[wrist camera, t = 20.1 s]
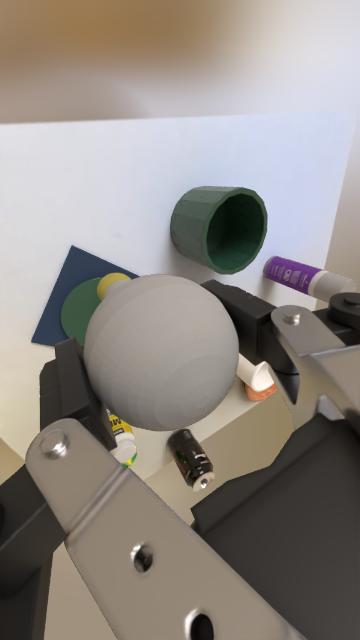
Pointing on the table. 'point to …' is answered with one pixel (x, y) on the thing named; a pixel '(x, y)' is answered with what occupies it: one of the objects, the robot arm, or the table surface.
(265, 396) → the saucer
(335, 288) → the container
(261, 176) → the table surface
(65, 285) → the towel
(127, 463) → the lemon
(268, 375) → the mug
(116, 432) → the supplement bottle
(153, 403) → the light bulb
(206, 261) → the tin
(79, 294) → the lid
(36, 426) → the table surface
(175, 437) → the beverage can
